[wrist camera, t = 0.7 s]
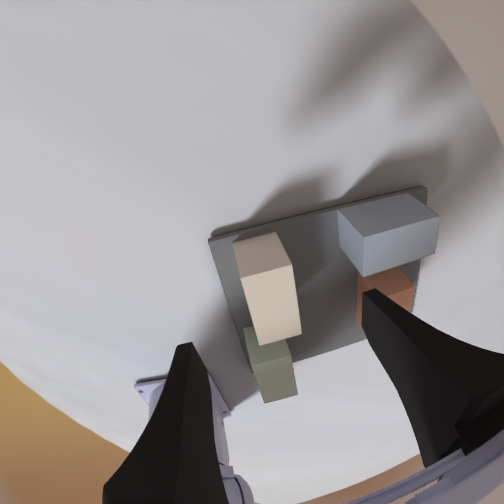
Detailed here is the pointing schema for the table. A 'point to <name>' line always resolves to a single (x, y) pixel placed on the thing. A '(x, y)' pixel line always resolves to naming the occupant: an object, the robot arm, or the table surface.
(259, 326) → the cream brick
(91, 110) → the table surface
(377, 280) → the terracotta brick
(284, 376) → the sage brick
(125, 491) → the robot arm
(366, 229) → the bluegrey brick
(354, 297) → the mat
